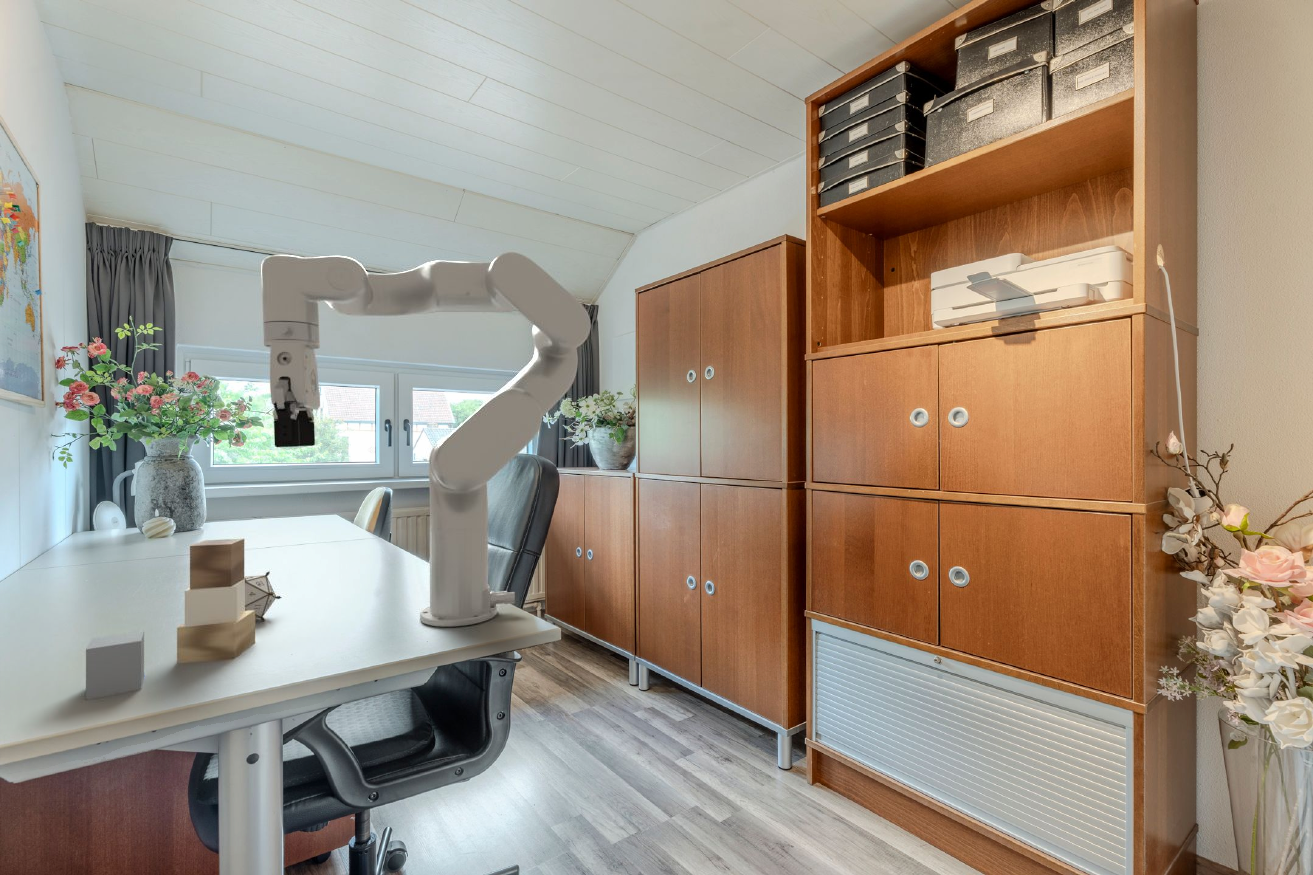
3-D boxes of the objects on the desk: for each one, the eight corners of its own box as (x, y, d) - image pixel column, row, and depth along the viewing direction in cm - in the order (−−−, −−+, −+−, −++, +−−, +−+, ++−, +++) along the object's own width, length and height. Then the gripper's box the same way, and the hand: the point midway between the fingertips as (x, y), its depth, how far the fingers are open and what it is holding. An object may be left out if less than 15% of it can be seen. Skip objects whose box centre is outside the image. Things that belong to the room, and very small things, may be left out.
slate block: (144, 676, 79) (144, 630, 79) (141, 689, 75) (141, 640, 75) (91, 686, 76) (91, 638, 76) (85, 700, 72) (85, 649, 72)
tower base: (255, 643, 92) (255, 610, 92) (234, 659, 85) (234, 623, 85) (202, 646, 91) (202, 613, 91) (177, 663, 84) (176, 627, 84)
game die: (251, 645, 102) (239, 607, 96) (211, 624, 103) (197, 585, 97) (295, 607, 109) (286, 570, 103) (257, 588, 110) (247, 550, 105)
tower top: (244, 610, 92) (244, 577, 92) (236, 621, 86) (236, 586, 86) (196, 615, 89) (196, 581, 89) (184, 627, 84) (184, 590, 84)
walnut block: (244, 578, 91) (244, 538, 91) (231, 586, 86) (231, 544, 86) (205, 581, 90) (205, 540, 90) (189, 589, 85) (189, 545, 85)
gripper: (305, 328, 89) (309, 446, 89) (330, 345, 105) (333, 445, 105) (245, 327, 86) (250, 448, 86) (280, 345, 103) (284, 446, 103)
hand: (296, 446), depth 96 cm, fingers open, 9 cm apart
